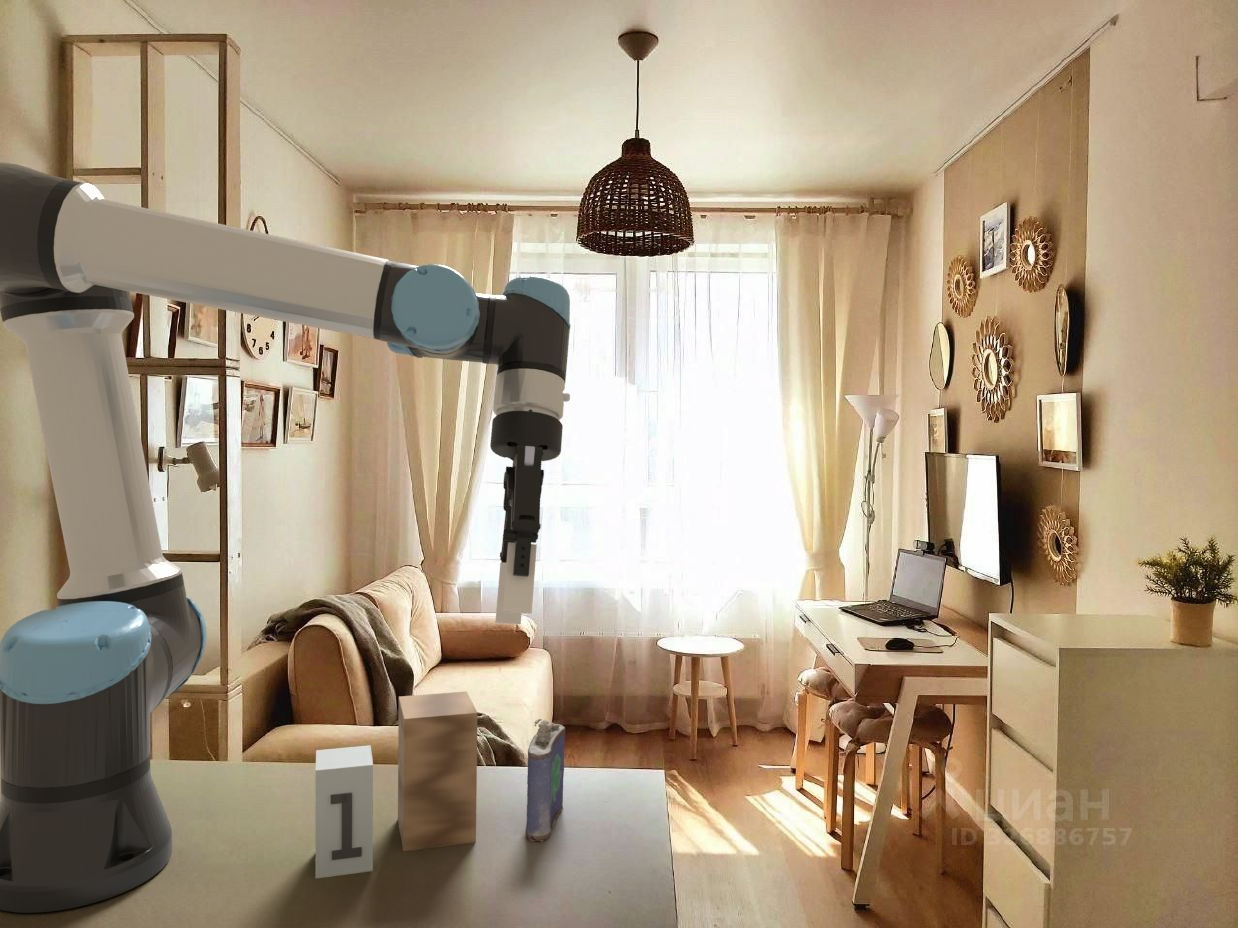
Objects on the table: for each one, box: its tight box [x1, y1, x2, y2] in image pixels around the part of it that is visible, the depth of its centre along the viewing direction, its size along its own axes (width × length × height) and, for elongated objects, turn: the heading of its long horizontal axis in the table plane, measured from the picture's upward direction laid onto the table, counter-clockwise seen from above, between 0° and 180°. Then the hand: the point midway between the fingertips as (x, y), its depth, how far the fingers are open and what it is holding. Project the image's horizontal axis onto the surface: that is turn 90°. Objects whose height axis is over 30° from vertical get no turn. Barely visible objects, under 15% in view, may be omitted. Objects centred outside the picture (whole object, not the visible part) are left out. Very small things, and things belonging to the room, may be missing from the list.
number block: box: [315, 744, 374, 879], centre depth 84 cm, size 5×5×10 cm
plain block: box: [397, 690, 478, 852], centre depth 91 cm, size 7×7×13 cm
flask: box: [525, 718, 566, 843], centre depth 93 cm, size 9×3×11 cm, turn 172°
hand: (512, 618), depth 91 cm, fingers open, 13 cm apart
